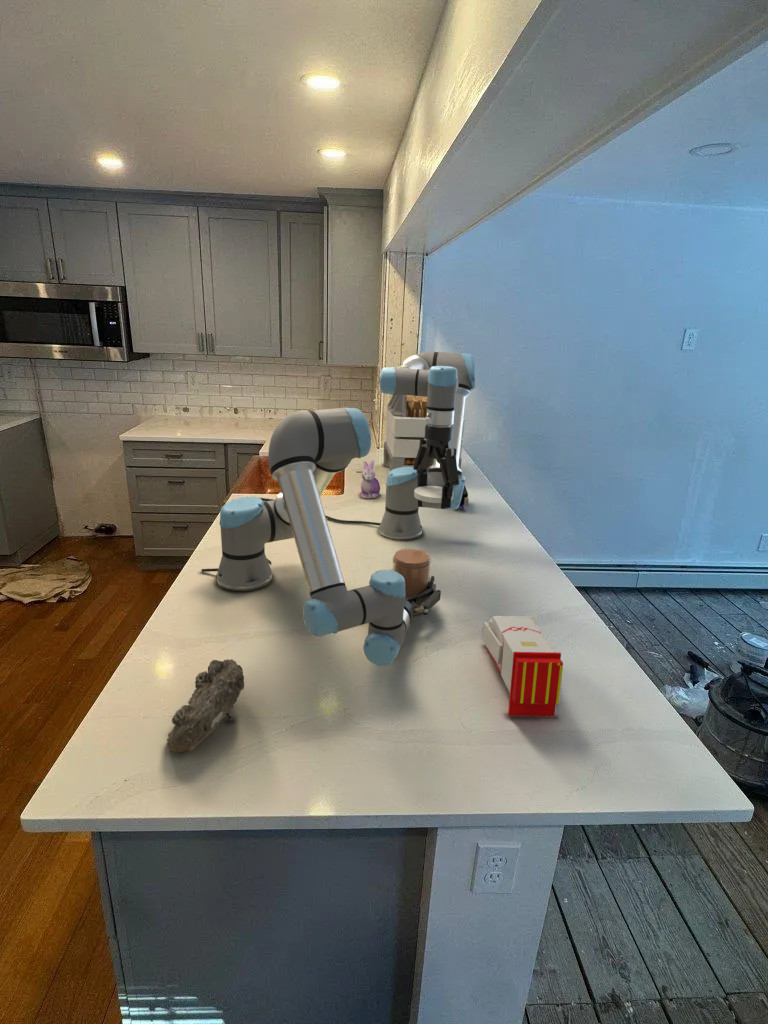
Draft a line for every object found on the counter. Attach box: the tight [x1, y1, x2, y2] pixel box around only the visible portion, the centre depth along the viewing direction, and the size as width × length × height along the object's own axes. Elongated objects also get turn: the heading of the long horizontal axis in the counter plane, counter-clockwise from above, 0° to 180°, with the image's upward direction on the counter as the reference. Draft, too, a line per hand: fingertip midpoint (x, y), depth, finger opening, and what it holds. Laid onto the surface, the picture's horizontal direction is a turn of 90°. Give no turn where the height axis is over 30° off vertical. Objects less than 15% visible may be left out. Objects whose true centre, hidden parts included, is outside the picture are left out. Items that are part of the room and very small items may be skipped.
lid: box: [414, 486, 454, 503], centre depth 160 cm, size 11×11×2 cm
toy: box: [481, 615, 564, 718], centre depth 123 cm, size 12×13×30 cm
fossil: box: [166, 658, 245, 754], centre depth 106 cm, size 22×10×15 cm
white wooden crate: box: [383, 395, 465, 472], centre depth 268 cm, size 34×33×41 cm
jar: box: [391, 548, 432, 616], centre depth 149 cm, size 10×10×15 cm
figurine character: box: [455, 485, 470, 511], centre depth 230 cm, size 7×8×15 cm
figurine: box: [360, 460, 381, 499], centre depth 236 cm, size 9×10×15 cm
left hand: (413, 577), depth 154 cm, fingers closed on jar, 10 cm apart
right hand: (433, 501), depth 161 cm, fingers closed on lid, 11 cm apart
